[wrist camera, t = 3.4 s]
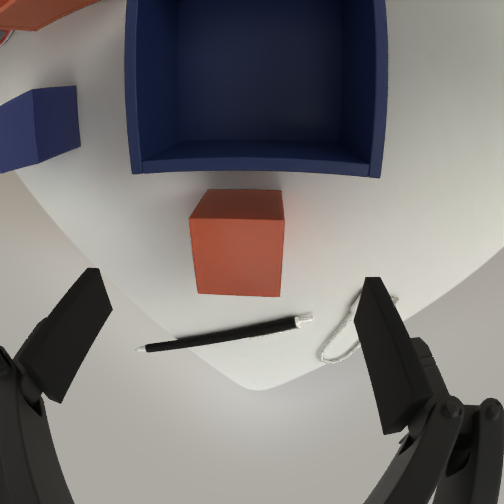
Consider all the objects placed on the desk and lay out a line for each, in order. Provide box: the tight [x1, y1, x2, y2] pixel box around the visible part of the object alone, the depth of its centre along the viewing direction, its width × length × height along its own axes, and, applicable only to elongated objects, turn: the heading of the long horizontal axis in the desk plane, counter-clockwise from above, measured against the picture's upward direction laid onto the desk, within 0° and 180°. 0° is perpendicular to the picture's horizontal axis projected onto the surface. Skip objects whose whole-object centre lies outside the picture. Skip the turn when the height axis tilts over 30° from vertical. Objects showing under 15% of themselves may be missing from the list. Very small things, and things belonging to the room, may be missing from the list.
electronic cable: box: [320, 294, 399, 363], centre depth 24 cm, size 4×10×1 cm, turn 160°
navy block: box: [0, 86, 81, 173], centre depth 14 cm, size 5×5×5 cm
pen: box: [136, 316, 313, 352], centre depth 26 cm, size 1×19×1 cm
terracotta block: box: [189, 190, 285, 297], centre depth 18 cm, size 5×5×5 cm
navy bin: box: [124, 0, 388, 178], centre depth 12 cm, size 11×11×7 cm
